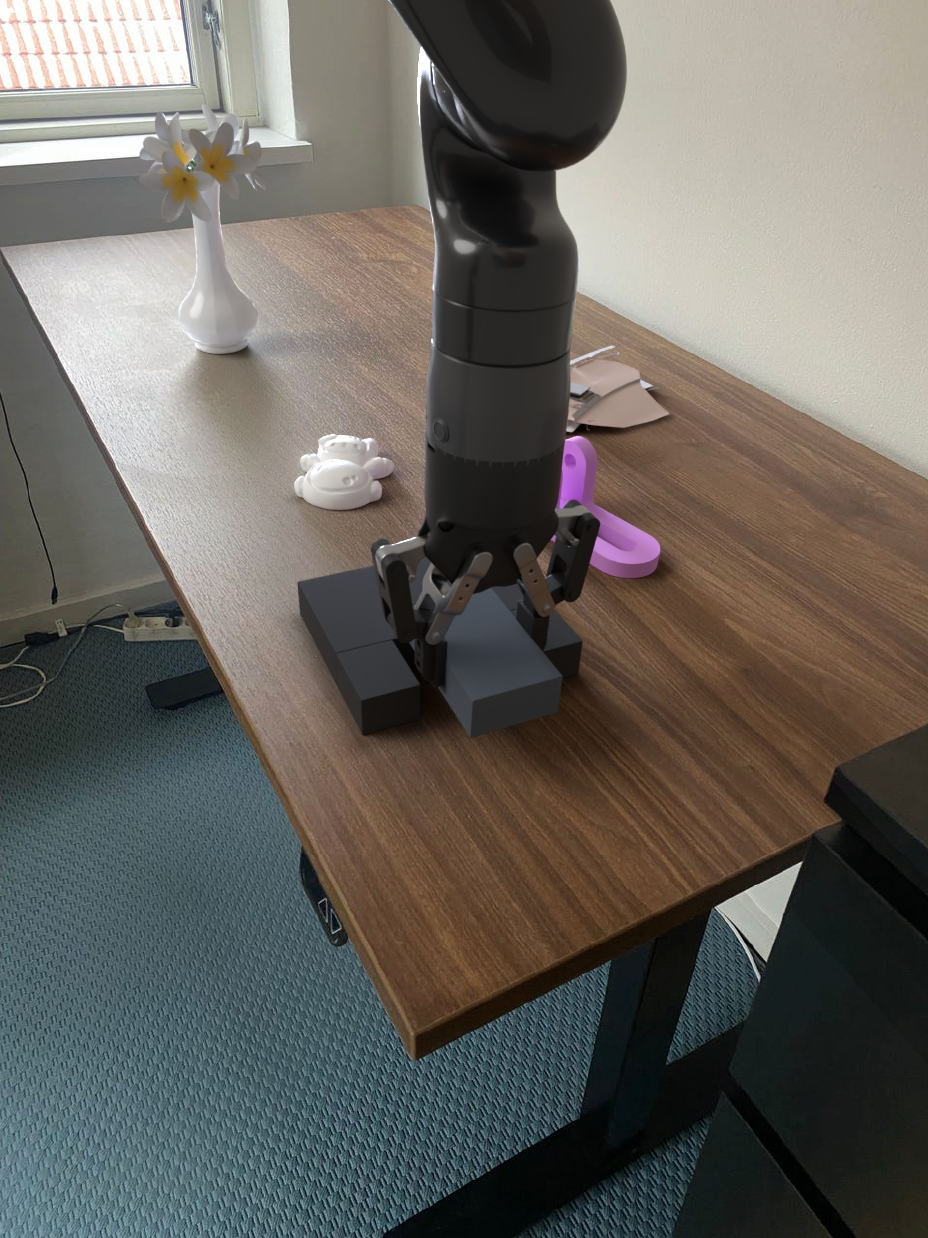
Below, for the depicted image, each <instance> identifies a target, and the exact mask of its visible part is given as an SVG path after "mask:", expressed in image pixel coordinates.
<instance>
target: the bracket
mask: <svg viewBox="0 0 928 1238" xmlns="http://www.w3.org/2000/svg"><path fill="white" fill-rule="evenodd" d="M597 469H598V455H597V452H596V449H595V447H594V446H593V444H592V443H591V442H590V440H588V439H587V438H585V437H584V436H581V435H576V436H573V437H570V438H568V439H565V445H564V454H563V463H562V472H561V480H560V489H559V498H558V503H557V506H556V508H555V509H562V508H564V506H565V504H566V503H567V502H568V501H570V500H573V499H575V500H578V501H579V502H580V503H581V504H582V505H583V506H584V507H585V508H586V509H587V510H589V511H590V512H591V513H592V514H593V515H594V516H595V517H596V518H597V519H598V520H599V521H600V528H599V532H598V535H597V539H596V542H595V546H594V549H593V553H592V557H591V560H590V564H589V565H591V566H593V567H594V568H596V569H597V570H599V571H600V572H603V573H604V574H606V575H609V576H612V577H615V578H621V579H639V578H643V577H647V576H649V575H651V574H653V573H654V572H655V571H656V570H657V568H658V564H659V560H660V555H661V545H660V543H659V541H658V540H657V539H656V538H655V537H653V536H652V535H651V534H649V533H647V532H645V531H643V530H642V529H640V528H639V527H636V526H634V525H632V524H630V523H629V522H627V521H625V520H623V519H622V518H620V517H619V516H617V515H614V514H613V513H611V512H609V511H608V510H606V509H603V508H602V507H600V506H598V505H596V504H595V502H594V494H595V493H594V492H595V485H596V477H597ZM555 539H556V536H555V535H554V536H553V537H552V539H551V540H550V541H551V542H553V543H554V542H555Z"/></svg>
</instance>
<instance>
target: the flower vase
mask: <svg viewBox="0 0 928 1238" xmlns="http://www.w3.org/2000/svg"><path fill="white" fill-rule="evenodd" d="M201 111H202V113H203V117H204V119H205V122H206V125H207V129H205V133H204V132H202V131H201V130H199V129H198V128H190V129H185V128H182V126H181V122H180V113H179V112H178V111H177V112H176V113H175V114H174V115H173V117H172V119H171V120H170V121H169V123H168V120H167V118H166V116H165V114H164V112H162V111H160V110H159V111H158V112H157V113H156V115H155V118H154V129H155V130H154V131H155V133H156V136H157V137H155V136H146V137H145V138H144V139H143V141H142V148H141V149H140V151H139V159H140V160H142V161H153V160H154V162H153V163H152V165H151V166H150V168H149V170H148V171H147V173H144V174H141V175H139V177H138V183H139V184H140V185H141V187H143V188H144V189H146V190H148V191H150V192H153V193H158V194H159V193H160V194H161V193H162V194H163V193H165V195H164V198H163V199H162V202H161V206H160V207H161V209H160V215H161V218H162V219H163V221H164V222H166V223H169V224H171V223H174V222H175V221H177V220H178V219H179V218H180V217H181V215H182V213H183V211H184V208H185V206H187V208H188V210H189V211H190V212H191V216H192V223H193V233H194V243H195V244H194V245H195V254H196V270H195V277H194V280H193V284H192V287H191V289H190V291H189V292H188V293H187V295H185V297H184V298H183V300H182V302H181V304H180V305H179V308H178V313H177V321H178V325H179V327H180V329H181V330H182V331H183V332H184V334H186V336H187V337H188V338H190V339H191V340H193V341H194V344H195V347H196V348H197V349H198V350H199V351H201V352H204V353H207V354H214V355H225V354H233V353H237V352H240V351H242V350H243V349H245V348H246V347H247V346H248V344H249V339H248V338H249V337H250V336H252V335H253V334H254V332H255V330H256V329H257V327H258V325H259V322H260V316H259V312H258V309H257V307H256V305H255V303H254V301H253V300H252V299H251V298H250V297H249V295H247V294H246V293H245V292H244V291H243V290H242V289H240V287H239V286H238V285H237V283H236V281H235V279H234V277H233V275H232V274H231V271H230V268H229V264H228V261H227V257H226V251H225V245H224V238H223V232H222V224H221V217H220V216H221V215H220V193H221V189H222V191H223V192H224V193H225V194H226V196H228V198H230V199H231V200H233V201H238V200H239V199H240V197H241V189H240V185H239V182H238V181H237V179H236V178H235V176H233V175H244V176H245V177H246V178H247V180H248V181H249V183H250V184H251V185H252V187H253V189H254V190H255V191H256V192H258V191H259V188H258V186H259V187H260V188H261V189H262V190H264V191H265V192H267V191H268V186H267V183H266V180H265V178H264V176H263V174H262V172H261V170H259V168H258V165H257V163H258V162H259V161H260V160H261V158H262V155H263V152H262V151H263V150H262V145H261V144H260V142H259V141H257V140H253V141H251V142H249V140H250V127H249V122H248V118H247V117H246V116H244V117H243V122H242V127H241V133H240V137H239V140H235V139H236V138H237V136H238V134H239V131H240V122H239V118H238V117H237V116H236V114H234V113H230V112H229V113H227V114H225V115H224V116H223V118H222V120H221V122H220V123H219V122H218V118H217V117H216V115H215V113H214V112H213V110H212V109H211V107H209V105H207V104H206V103H202V104H201ZM195 159H196V160H197V162H196V161H195ZM189 164H190V165H189Z"/></svg>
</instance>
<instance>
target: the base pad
mask: <svg viewBox="0 0 928 1238" xmlns="http://www.w3.org/2000/svg"><path fill="white" fill-rule="evenodd" d="M430 564H431V562H430V561H429V560H428V559H427V557H425V558H423V559H422V560H421V561H420V562H419V563H418V565H417V572H416V574H415V577H416V579H415V580H414V581H413V582H409V586H410V592H411V598H412V604H413V605H416V603H417V601H418V599H419V597H420V595H421V593H422V591H423V585H422V582H423V578H424V576H425V574H426V572H427V570H428V568H429V566H430ZM296 584H297V585H296V586H297V594H298V606H299V607H298V608H299V615H300V617H301V619H302V621H303V622H304V624H305V626H306V629H307V630H308V631H309V632H308V633H309V634H310V636H311V638H312V640H313V642H314V644H315V646H316V648H317V649H318V651H319V654H320V656H321V657H322V659H323V661H324V663H325V665H326V667H327V669H328V671H329V673H330V675H331V677H332V679H333V680H334V683H335V684H336V686H337V689H338V691H339V692H340V694H341V697H342V699H343V700H344V702H345V705H346V706H347V708H348V710H349V712H350V714H351V715H352V718H353V719H354V721H355V724H356V725H357V728H358V729H359V731H360V733H361V735H362V736H364V735H365V736H366V735H368V734H372V733H376V732H379V731H383V730H386V729H389V728H393V727H397V726H400V725H403V724H407V723H411V722H414V721H417V720H420V719H421V684H420V682H419V681H418V679H417V677H416V675H415V674H414V672H413V671H412V669H413V668H417V667H416V665H415V651H414V649H413V648H412V646H411V645H410V643H401V642H400V641H399V640H398V638H397V637H396V635H395V632H394V631H393V629H392V627H391V626H390V624H389V623H388V622H387V621H386V619H385V618H384V616H383V611H382V606H381V600H380V595H379V590H378V585H377V580H376V575H375V570H374V565H369V566H364V567H359V568H355V569H351V570H345V571H341V572H336V573H331V574H327V575H322V576H318V577H313V578H308V579H304V580H299V581H297V582H296ZM448 585H449V586H450V588H451V587H452V584H451V583H450V582H449V581H448ZM491 589H492V590H493V591H494V592H495V593H496V595H497V596H498V597H499V598H500V600H501V601H502V602H503V603H504V605H505V606H506V607H507V608H508V610H509V611H510V612H511V613H512V614H513V616H514V617H515V618H516V615H517V604H518V600H522V599H524V597H523V595H522V594H521V592H520V590H519V588H518V586H517V584H515V585H510V586H506V587H491ZM583 642H584V640H582V638H581V637H580V636H579V635H578V634H577V633H576V631H575V630H574V629H573V628H572V627H571V626H570V625H569V623H568V622H567V621H566V620H565V619H564V617H562V616H561V614H560V613H559V612H558V611H557V610H556V608H555V609H554V611H553V613H552V614H550V619H549V627H548V636H547V644H546V646H545V648H544V650H543V653H544V654H545V655H546V656H547V658H548V659H549V660H550V661H551V663H552V664H553V665H554V666H555V667H556V669H557V670H558V671H559V672H560V674H561V675H562V680H563V679H565V678H570V677H572V676H575V675H576V676H577V675H579V672H580V671H579V670H580V664H581V657H582V651H583V650H582V649H583V645H584V644H583Z"/></svg>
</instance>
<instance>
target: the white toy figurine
mask: <svg viewBox="0 0 928 1238" xmlns="http://www.w3.org/2000/svg"><path fill="white" fill-rule="evenodd" d="M317 443H318V445H319V446H318V449H317V453H311V454H310V453H306V454H304V455H302V456H301V457H300V460H299V463H300V466H301V468H302V470H303V471H304V472H305V473H306V474H305V476H304V475H300V476H298V477H297V478H296V480H295V481H294V483H293V487H294V492H295V495H296V496H297V497H299V498H301V499H302V498H303V499H304V500H305V501H306V502H307V503H309V504H310V505H312V506H314V507H318V508H321V509H325V510H329V511H331V510H332V511H347V510H354V509H357V508H361V507H363V506H366V505H368V504H369V503H372V502H376V501H379V500H380V499H381V497H382V495H383V486H382V484H381V482H379V481H378V480H379V479H382V478H385V477H388V476H389V475H391V474H392V473H393V472H394V470H395V464H394V462H393V461H392V460H391V459H388V458H386V457H380V456H379V444H378V442H377V440H375V439H374V438H370V437H369V438H365V439H362V438H361V437H358V436H353V435H340V434H339V435H337V434H335V433H331V434H330V435H329V434H327V435H325V436H323V437H321V438H319V439H318V442H317Z"/></svg>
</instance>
